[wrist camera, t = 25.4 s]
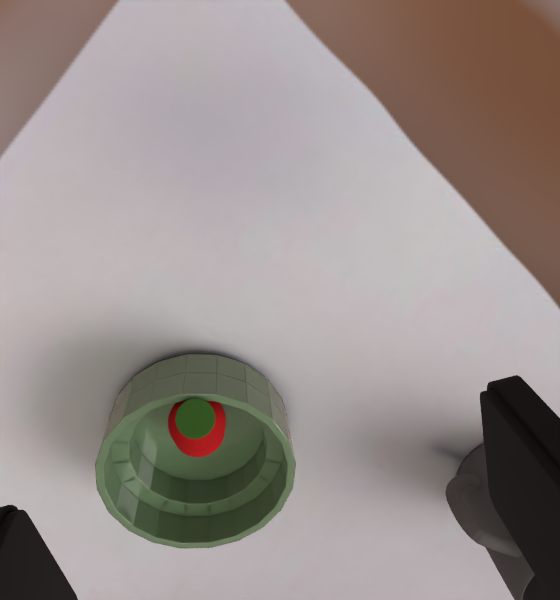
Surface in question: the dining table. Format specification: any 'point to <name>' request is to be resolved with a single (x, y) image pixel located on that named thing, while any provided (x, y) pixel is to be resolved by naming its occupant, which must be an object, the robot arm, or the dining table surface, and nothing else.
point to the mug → (490, 527)
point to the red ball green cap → (202, 453)
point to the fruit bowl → (196, 470)
